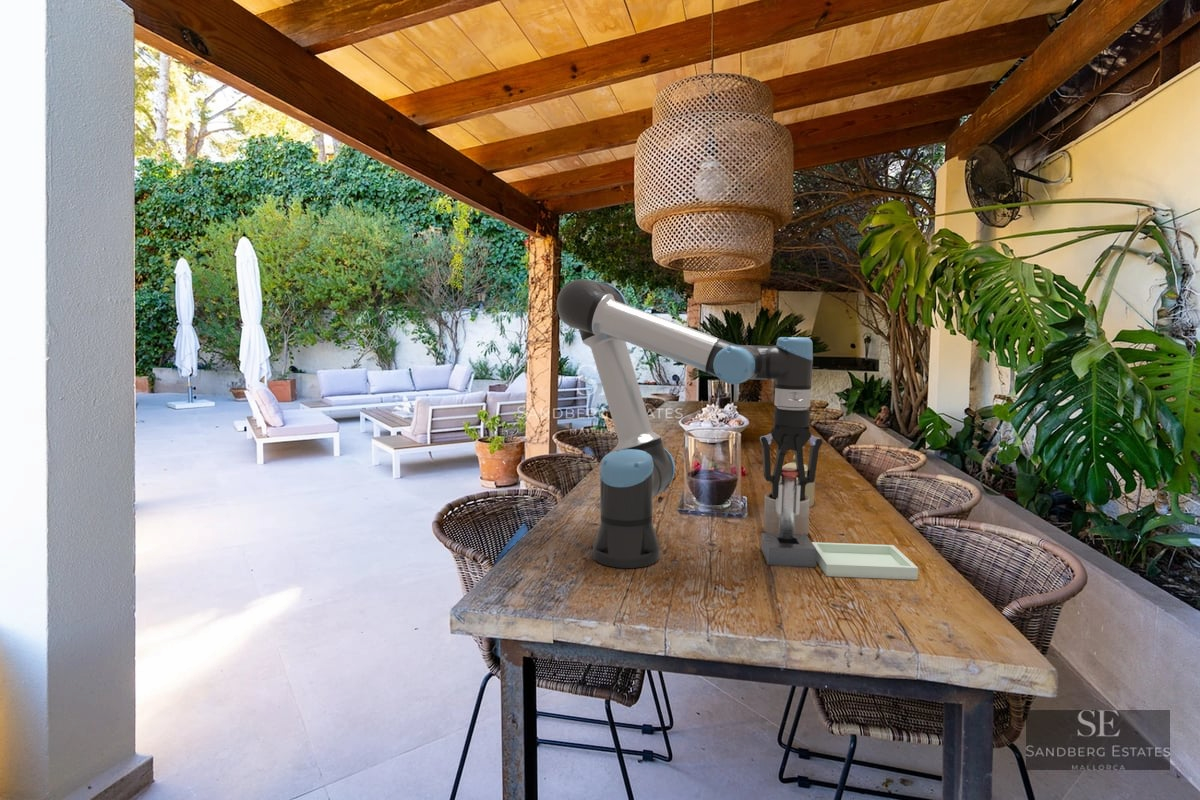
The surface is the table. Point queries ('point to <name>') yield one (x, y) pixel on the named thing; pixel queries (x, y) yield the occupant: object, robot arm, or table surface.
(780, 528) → the red capped tube
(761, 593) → the table surface
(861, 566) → the tray
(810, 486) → the sugar bowl
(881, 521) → the table surface
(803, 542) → the block
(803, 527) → the planter
